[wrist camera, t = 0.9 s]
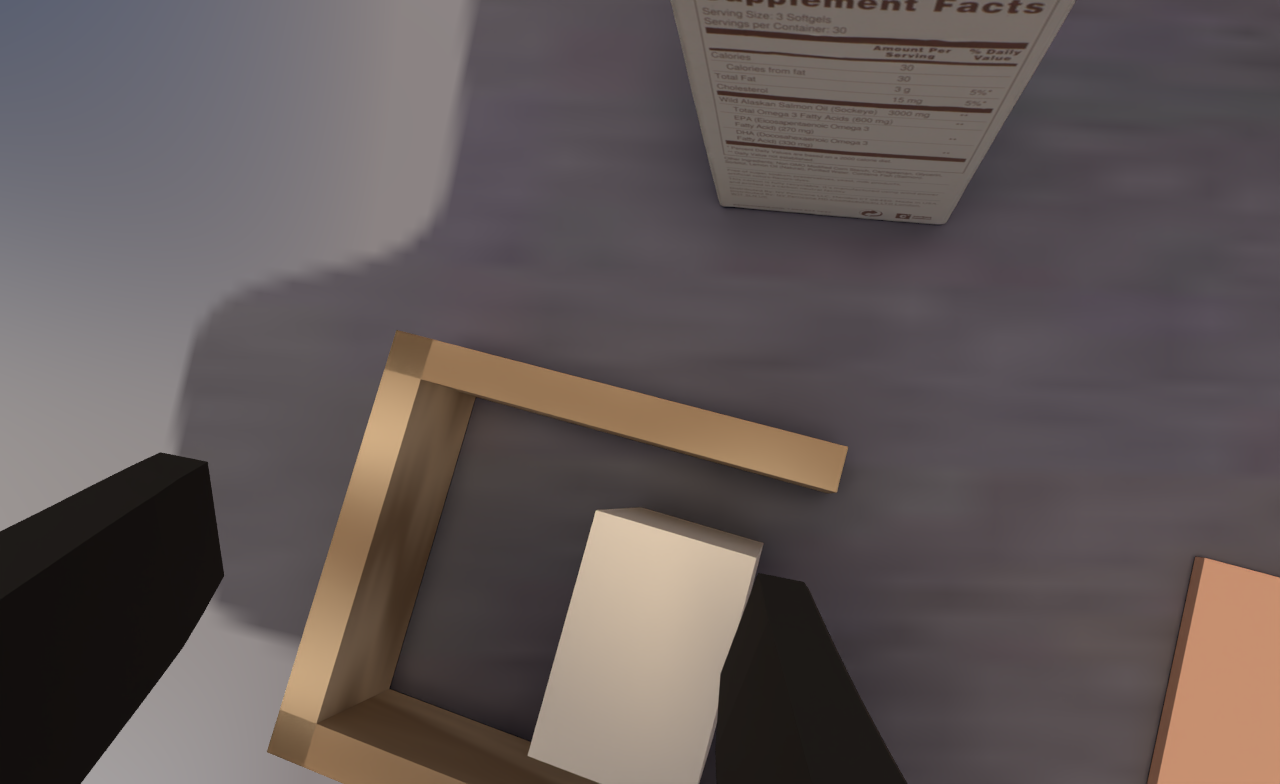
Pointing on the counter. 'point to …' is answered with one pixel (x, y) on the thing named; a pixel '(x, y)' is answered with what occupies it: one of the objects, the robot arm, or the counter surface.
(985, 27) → the supplement box
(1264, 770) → the tile
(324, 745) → the shelf bay
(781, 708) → the robot arm
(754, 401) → the counter surface
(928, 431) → the counter surface
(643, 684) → the block
